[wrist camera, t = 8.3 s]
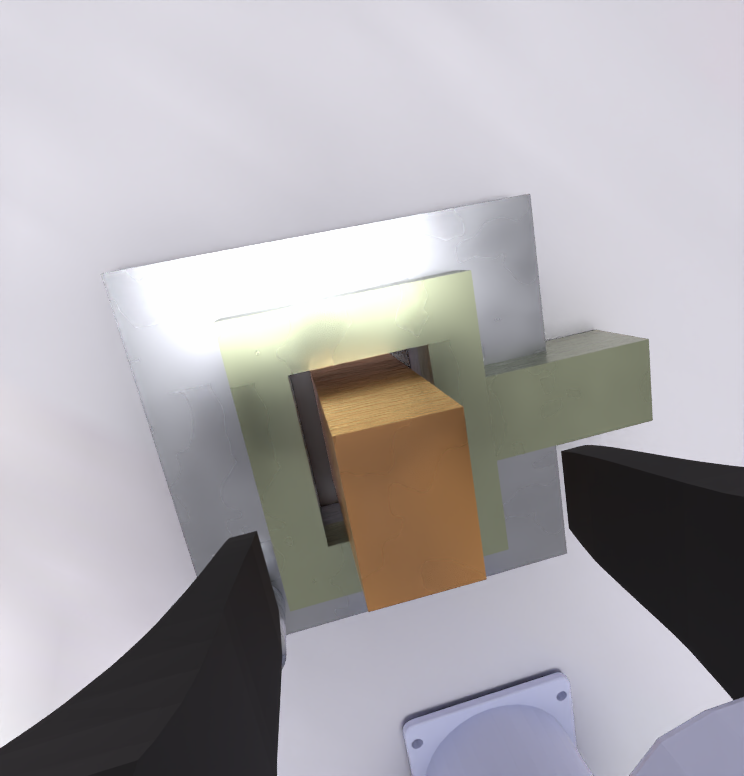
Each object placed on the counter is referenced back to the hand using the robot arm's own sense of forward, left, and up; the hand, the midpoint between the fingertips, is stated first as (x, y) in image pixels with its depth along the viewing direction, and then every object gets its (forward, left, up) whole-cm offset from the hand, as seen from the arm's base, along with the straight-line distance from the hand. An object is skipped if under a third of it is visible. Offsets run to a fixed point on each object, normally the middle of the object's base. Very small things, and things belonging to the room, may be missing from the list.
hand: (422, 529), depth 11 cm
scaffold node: (0, -1, -8) cm, 8 cm away
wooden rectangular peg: (0, 0, -8) cm, 8 cm away
